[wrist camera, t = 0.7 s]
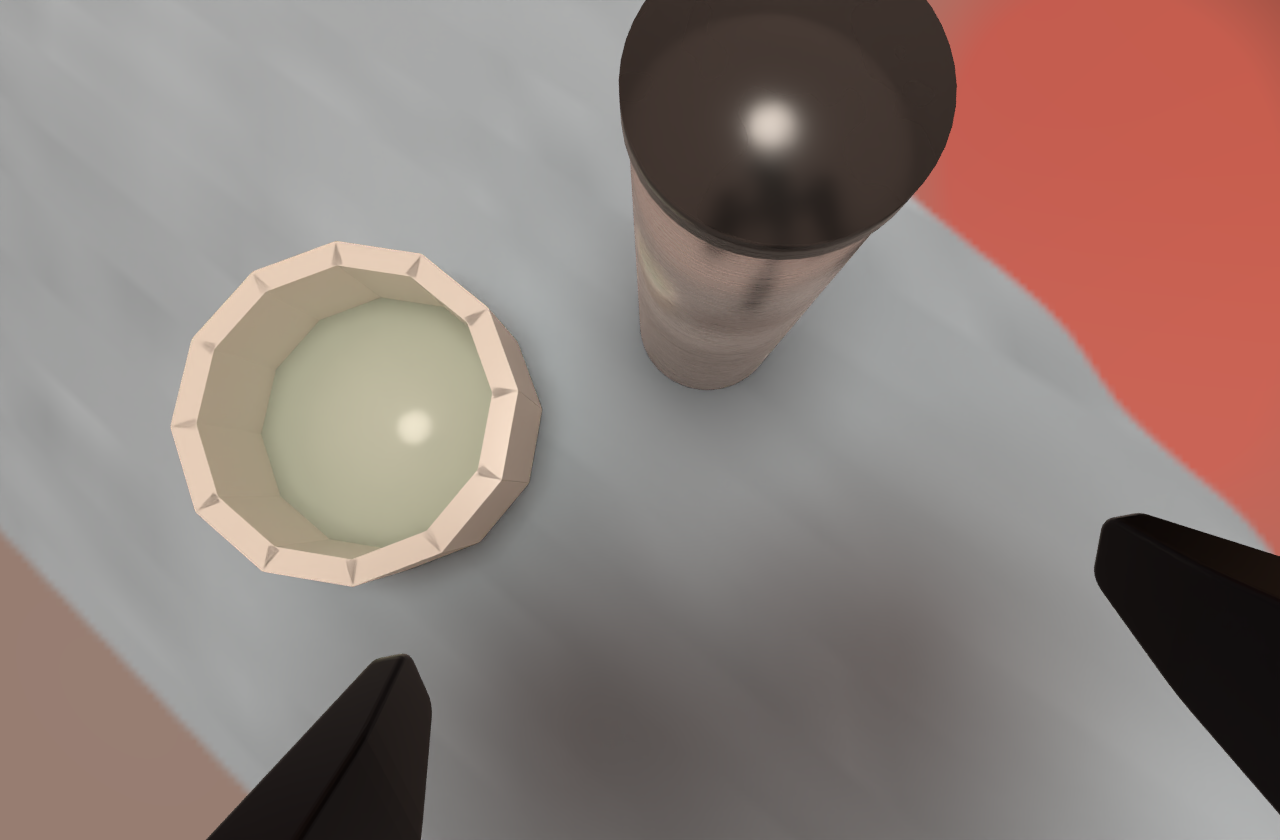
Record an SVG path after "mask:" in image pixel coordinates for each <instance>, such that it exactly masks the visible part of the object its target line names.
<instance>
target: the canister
mask: <svg viewBox="0 0 1280 840" xmlns="http://www.w3.org/2000/svg"><path fill="white" fill-rule="evenodd" d="M956 88H957V85H956V75H955V65H954V61H953V57H952V53H951V49H950V45H949V43H948V40H947V37H946V35H945V32H944V30H943V27H942V25H941V23H940V21H939V19H938V18H937V16H936V14H935V13H934V11H933V9H932V7H931V6H930V4H929V3H928V2H927V0H646V1H645V2H644V4H643V5H642V7H641V9H640V11H639V12H638V14H637V16H636V18H635V19H634V21H633V24H632V26H631V29H630V31H629V33H628V36H627V38H626V42H625V46H624V50H623V54H622V58H621V64H620V74H619V97H620V112H621V125H622V130H623V136H624V141H625V146H626V149H627V152H628V155H629V158H630V165H631V182H632V199H633V216H634V233H635V249H636V266H637V283H638V300H639V316H640V332H641V337H642V341H643V344H644V348H645V350H646V352H647V354H648V356H649V357H650V359H651V361H652V362H653V363H654V365H655V366H656V367H657V368H658V369H659V370H660V371H661V372H662V373H663V374H664V375H666V376H667V377H668V378H670V379H671V380H673V381H675V382H677V383H679V384H681V385H684V386H687V387H690V388H694V389H702V390H715V389H721V388H725V387H728V386H732V385H734V384H736V383H738V382H740V381H742V380H744V379H745V378H747V377H748V376H749V375H750V374H752V373H753V372H754V371H755V370H756V369H757V368H758V367H759V366H760V364H761V363H762V362H763V361H764V360H765V359H766V357H767V356H768V355H769V354H770V353H771V351H772V350H773V349H774V348H775V347H776V346H777V344H778V343H779V342H780V341H781V340H782V338H783V337H784V336H785V335H786V334H787V333H788V331H789V330H790V329H791V328H792V327H793V325H794V324H795V323H796V322H797V321H798V320H799V318H800V317H801V316H802V315H803V314H804V312H805V311H806V310H807V309H808V308H809V306H810V305H811V304H812V303H813V302H814V301H815V299H816V298H817V297H818V296H819V295H820V293H821V292H822V291H823V290H824V289H825V288H826V286H827V285H828V284H829V283H830V282H831V280H832V279H833V278H834V277H835V276H836V275H837V273H838V272H839V271H840V270H841V269H842V267H843V266H844V265H845V264H846V263H847V262H848V260H849V259H850V258H851V257H852V256H853V254H854V253H855V252H856V251H857V250H858V249H859V247H860V246H861V245H862V244H863V243H864V241H865V240H866V239H867V238H868V237H869V236H870V234H871V233H873V232H875V231H876V230H878V229H879V228H880V227H881V226H882V225H884V224H885V223H886V222H887V221H889V220H890V219H891V218H892V217H893V216H894V215H895V214H896V213H897V212H898V211H899V210H900V209H901V208H902V207H903V205H904V204H905V203H906V202H907V201H908V200H909V199H910V198H911V196H912V195H913V194H914V193H915V192H916V191H917V190H918V188H919V187H920V186H921V185H922V184H923V182H924V181H925V180H926V179H927V177H928V176H929V174H930V173H931V171H932V170H933V168H934V167H935V166H936V164H937V162H938V160H939V158H940V156H941V153H942V152H943V150H944V148H945V146H946V143H947V140H948V137H949V133H950V131H951V128H952V123H953V117H954V112H955V107H956Z"/></svg>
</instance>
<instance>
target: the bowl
mask: <svg viewBox="0 0 1280 840" xmlns="http://www.w3.org/2000/svg"><path fill="white" fill-rule="evenodd" d="M541 414H542V407H541V404H540V402H539V399H538V396H537V393H536V391H535V388H534V385H533V383H532V380H531V377H530V374H529V372H528V369H527V366H526V363H525V361H524V358H523V355H522V353H521V350H520V347H519V344H518V342H517V340H516V339H515V338H514V337H513V336H512V335H511V334H510V332H509V331H508V330H507V329H506V328H505V327H504V325H503V324H502V323H501V322H500V321H499V320H498V319H497V317H496V316H495V315H494V314H493V313H492V312H491V310H490V309H489V308H488V307H487V306H485V305H484V304H483V303H482V302H480V301H479V300H478V299H477V298H476V297H474V296H473V295H472V294H471V293H469V292H468V291H467V290H466V289H464V288H463V287H462V286H461V285H459V284H458V283H457V282H456V281H454V280H453V279H452V278H451V277H450V276H448V275H447V274H446V273H445V272H443V271H442V270H441V269H440V268H438V267H437V266H436V265H435V264H433V263H432V262H431V261H430V260H428V259H427V258H426V257H425V256H424V255H422V254H418V253H412V252H405V251H398V250H392V249H385V248H379V247H372V246H365V245H359V244H352V243H345V242H339V241H335V242H332V243H329V244H327V245H324V246H321V247H318V248H316V249H313V250H310V251H308V252H305V253H302V254H299V255H297V256H294V257H291V258H289V259H286V260H283V261H280V262H278V263H275V264H272V265H270V266H267V267H264V268H261V269H259V270H256V271H253V272H252V273H251V274H250V275H249V276H248V277H247V278H246V279H245V281H244V282H243V283H242V284H241V285H240V286H239V287H238V288H237V289H236V291H235V292H234V293H233V294H232V295H231V296H230V297H229V298H228V299H227V301H226V302H225V303H224V304H223V305H222V306H221V307H220V308H219V309H218V311H217V312H216V313H215V314H214V315H213V316H212V317H211V318H210V319H209V320H208V322H207V323H206V324H205V325H204V326H203V327H202V328H201V329H200V330H199V332H198V333H197V334H196V335H195V336H194V337H193V338H192V340H191V344H190V349H189V353H188V357H187V361H186V365H185V369H184V373H183V377H182V381H181V385H180V389H179V394H178V398H177V402H176V406H175V410H174V414H173V418H172V422H171V426H172V427H171V430H172V434H173V437H174V440H175V444H176V447H177V451H178V454H179V457H180V461H181V464H182V468H183V471H184V474H185V478H186V481H187V485H188V488H189V491H190V495H191V498H192V502H193V505H194V508H195V512H196V513H197V514H198V515H199V516H201V517H202V518H203V519H204V520H205V521H206V522H207V523H208V524H210V525H211V526H212V527H213V528H214V529H215V530H216V531H217V532H219V533H220V534H221V535H222V536H223V537H224V538H225V539H226V540H228V541H229V542H230V543H231V544H232V545H233V546H234V547H235V548H237V549H238V550H239V551H240V552H241V553H242V554H243V555H244V556H246V557H247V558H248V559H249V560H250V561H251V562H252V563H253V564H255V565H256V566H257V567H258V568H259V569H260V570H261V571H263V572H269V573H275V574H280V575H286V576H292V577H298V578H304V579H310V580H316V581H322V582H328V583H334V584H340V585H346V586H351V587H354V586H357V585H360V584H363V583H367V582H370V581H373V580H376V579H380V578H383V577H386V576H389V575H393V574H396V573H399V572H402V571H406V570H409V569H411V568H414V567H417V566H419V565H422V564H424V563H427V562H430V561H432V560H435V559H438V558H440V557H443V556H445V555H448V554H451V553H453V552H456V551H458V550H461V549H464V548H466V547H469V546H471V545H474V544H477V543H479V542H481V541H482V539H483V538H484V537H485V536H486V534H487V533H488V532H489V531H490V530H491V528H492V527H493V526H494V525H495V524H496V522H497V521H498V520H499V519H500V518H501V516H502V515H503V514H504V513H505V511H506V510H507V509H508V508H509V507H510V505H511V504H512V503H513V502H514V501H515V499H516V498H517V497H518V496H519V495H520V493H521V492H522V491H523V490H524V489H525V487H526V486H527V485H528V484H529V481H530V475H531V470H532V464H533V458H534V453H535V447H536V442H537V436H538V430H539V425H540V419H541Z"/></svg>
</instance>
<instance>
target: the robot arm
mask: <svg viewBox="0 0 1280 840" xmlns="http://www.w3.org/2000/svg"><path fill="white" fill-rule="evenodd" d="M1094 573H1095V578H1096V581H1097V583H1098V585H1099V587H1100V589H1101V591H1102V592H1103V593H1104V595H1105V596H1106V598H1107V599H1108V600H1109V602H1110V603H1111V604H1112V606H1113V607H1114V609H1115V610H1116V611H1117V613H1118V614H1119V616H1120V617H1121V618H1122V620H1123V621H1124V623H1125V624H1126V625H1127V627H1128V628H1129V630H1130V631H1131V632H1132V634H1133V635H1134V637H1135V638H1136V639H1137V641H1138V642H1139V644H1140V645H1141V646H1142V648H1143V649H1144V651H1145V652H1146V653H1147V655H1148V656H1149V657H1150V659H1151V660H1152V662H1153V663H1154V664H1155V666H1156V667H1157V669H1158V670H1159V671H1160V673H1161V674H1162V676H1163V677H1164V678H1165V680H1166V681H1167V682H1168V684H1169V685H1170V686H1171V688H1172V689H1173V690H1174V691H1175V693H1176V694H1177V695H1178V697H1179V698H1180V699H1181V700H1182V701H1183V703H1184V704H1185V705H1186V706H1187V707H1188V709H1189V710H1190V711H1191V712H1192V714H1193V715H1194V716H1195V717H1196V718H1197V719H1198V720H1199V722H1200V723H1201V724H1202V725H1203V726H1204V727H1205V729H1206V730H1207V731H1208V732H1209V733H1210V734H1211V736H1212V737H1213V738H1214V739H1215V740H1216V741H1217V743H1218V744H1219V745H1220V746H1221V747H1222V748H1223V749H1224V751H1225V752H1226V753H1227V754H1228V755H1229V756H1230V758H1231V759H1232V760H1233V761H1234V762H1235V763H1236V765H1237V766H1238V767H1239V768H1240V769H1241V770H1242V771H1243V773H1244V774H1245V775H1246V776H1247V777H1248V778H1249V780H1250V781H1251V782H1252V783H1253V784H1254V785H1255V787H1256V788H1257V789H1258V790H1259V791H1260V792H1261V793H1262V795H1263V796H1264V797H1265V798H1266V799H1267V800H1268V802H1269V803H1270V804H1271V805H1272V806H1273V807H1274V809H1275V810H1276V811H1277V812H1278V813H1279V814H1280V556H1277V555H1274V554H1271V553H1267V552H1264V551H1261V550H1258V549H1255V548H1252V547H1248V546H1245V545H1242V544H1239V543H1236V542H1233V541H1230V540H1226V539H1223V538H1220V537H1217V536H1214V535H1211V534H1207V533H1204V532H1201V531H1198V530H1195V529H1192V528H1188V527H1185V526H1182V525H1179V524H1176V523H1173V522H1169V521H1166V520H1163V519H1160V518H1157V517H1154V516H1150V515H1147V514H1142V513H1135V514H1129V515H1124V516H1119V517H1113V518H1110V519H1108V520H1106V522H1105V523H1104V524H1103V525H1102V528H1101V533H1100V538H1099V544H1098V549H1097V555H1096V560H1095V565H1094ZM431 720H432V708H431V702H430V698H429V695H428V693H427V690H426V688H425V686H424V684H423V681H422V679H421V677H420V675H419V672H418V670H417V668H416V666H415V663H414V661H413V660H412V658H411V657H410V656H409V655H407V654H398V655H393V656H388V657H382V658H379V659H376V660H374V661H373V662H372V663H371V664H370V665H369V666H368V667H367V668H366V669H365V670H364V671H363V672H362V673H361V674H360V675H359V676H358V677H357V678H356V680H355V681H354V682H353V683H352V684H351V685H350V686H349V687H348V688H347V689H346V690H345V691H344V692H343V693H342V695H341V696H340V697H339V698H338V699H337V700H336V701H335V702H334V703H333V704H332V705H331V706H330V707H329V708H328V710H327V711H326V712H325V713H324V714H323V715H322V716H321V717H320V718H319V719H318V720H317V721H316V722H315V724H314V725H313V726H312V727H311V728H310V729H309V730H308V731H307V732H306V733H305V734H304V735H303V736H302V737H301V739H300V740H299V741H298V742H297V743H296V744H295V745H294V746H293V747H292V748H291V749H290V750H289V751H288V752H287V754H286V755H285V756H284V757H283V758H282V759H281V760H280V761H279V762H278V763H277V764H276V765H275V766H274V767H273V769H272V770H271V771H270V772H269V773H268V774H267V775H266V776H265V777H264V778H263V779H262V780H261V781H260V782H259V784H258V785H257V786H256V787H255V788H254V789H253V790H252V791H251V792H250V793H249V794H248V795H247V796H246V797H245V799H244V800H243V801H242V802H241V803H240V804H239V805H238V806H237V807H236V808H235V809H234V810H233V811H232V812H231V814H230V815H229V816H228V817H227V818H226V819H225V820H224V821H223V822H222V823H221V824H220V825H219V826H218V828H217V829H216V830H215V831H214V832H213V833H212V834H211V835H210V836H209V837H208V838H207V839H206V840H421V833H422V823H423V813H424V801H425V790H426V778H427V766H428V755H429V743H430V731H431Z"/></svg>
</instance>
